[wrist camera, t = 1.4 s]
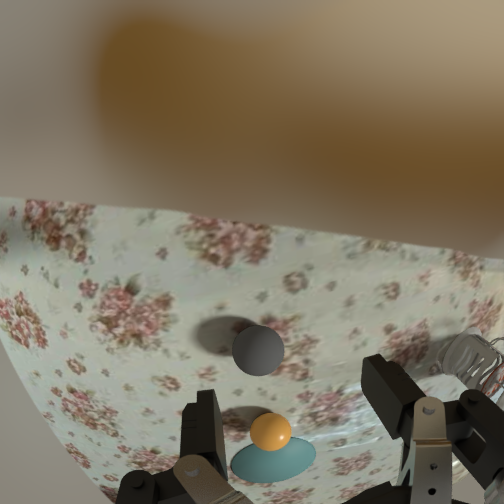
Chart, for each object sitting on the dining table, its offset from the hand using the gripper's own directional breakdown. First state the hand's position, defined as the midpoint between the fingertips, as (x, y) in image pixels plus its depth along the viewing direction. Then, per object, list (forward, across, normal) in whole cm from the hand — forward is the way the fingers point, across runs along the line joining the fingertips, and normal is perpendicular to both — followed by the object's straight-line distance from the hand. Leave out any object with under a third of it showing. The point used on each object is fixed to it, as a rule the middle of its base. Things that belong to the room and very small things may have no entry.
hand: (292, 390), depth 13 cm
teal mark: (+20, 0, +36) cm, 41 cm away
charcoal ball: (+17, 0, +10) cm, 20 cm away
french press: (+20, -35, +22) cm, 46 cm away
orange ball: (+17, 0, +24) cm, 29 cm away
